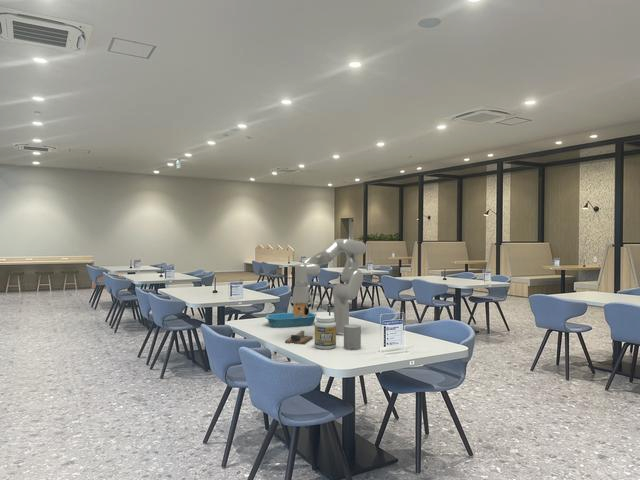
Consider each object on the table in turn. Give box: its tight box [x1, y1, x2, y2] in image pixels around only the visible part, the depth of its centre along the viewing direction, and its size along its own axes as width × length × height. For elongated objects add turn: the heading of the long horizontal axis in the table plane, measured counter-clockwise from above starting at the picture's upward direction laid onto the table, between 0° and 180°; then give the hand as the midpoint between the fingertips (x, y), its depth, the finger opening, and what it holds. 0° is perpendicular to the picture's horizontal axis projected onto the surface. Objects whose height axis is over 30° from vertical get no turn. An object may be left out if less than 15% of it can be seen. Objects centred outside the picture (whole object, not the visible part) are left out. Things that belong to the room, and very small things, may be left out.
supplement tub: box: [313, 315, 337, 350], centre depth 266 cm, size 12×12×17 cm
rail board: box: [284, 330, 314, 345], centre depth 282 cm, size 12×16×4 cm
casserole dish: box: [264, 311, 318, 329], centre depth 334 cm, size 37×22×7 cm, turn 109°
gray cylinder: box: [343, 323, 362, 351], centre depth 264 cm, size 10×10×12 cm
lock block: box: [293, 304, 308, 317], centre depth 285 cm, size 6×8×7 cm
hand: (301, 314), depth 286 cm, fingers closed on lock block, 6 cm apart
